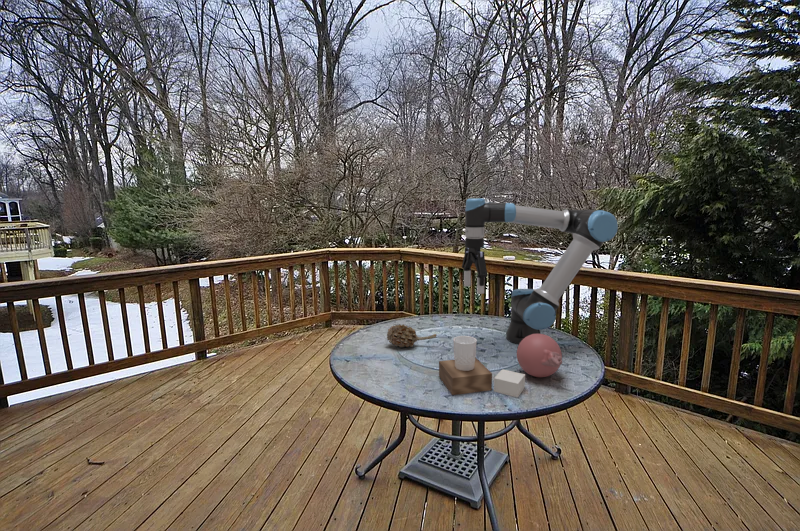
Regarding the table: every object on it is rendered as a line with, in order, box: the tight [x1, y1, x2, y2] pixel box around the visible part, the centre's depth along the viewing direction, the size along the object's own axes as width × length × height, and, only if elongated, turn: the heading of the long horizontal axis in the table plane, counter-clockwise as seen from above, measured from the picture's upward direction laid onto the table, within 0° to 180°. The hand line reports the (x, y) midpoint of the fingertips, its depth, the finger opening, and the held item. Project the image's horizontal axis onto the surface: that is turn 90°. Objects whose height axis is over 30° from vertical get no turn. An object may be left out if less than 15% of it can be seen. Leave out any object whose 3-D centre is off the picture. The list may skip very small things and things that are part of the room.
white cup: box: [453, 335, 478, 371], centre depth 140 cm, size 8×8×10 cm
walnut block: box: [438, 356, 493, 396], centre depth 141 cm, size 14×14×6 cm
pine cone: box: [386, 324, 437, 348], centre depth 176 cm, size 22×10×10 cm, turn 92°
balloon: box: [516, 333, 563, 378], centre depth 144 cm, size 15×20×15 cm
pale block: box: [493, 368, 526, 398], centre depth 137 cm, size 8×8×5 cm
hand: (473, 289), depth 165 cm, fingers open, 13 cm apart
